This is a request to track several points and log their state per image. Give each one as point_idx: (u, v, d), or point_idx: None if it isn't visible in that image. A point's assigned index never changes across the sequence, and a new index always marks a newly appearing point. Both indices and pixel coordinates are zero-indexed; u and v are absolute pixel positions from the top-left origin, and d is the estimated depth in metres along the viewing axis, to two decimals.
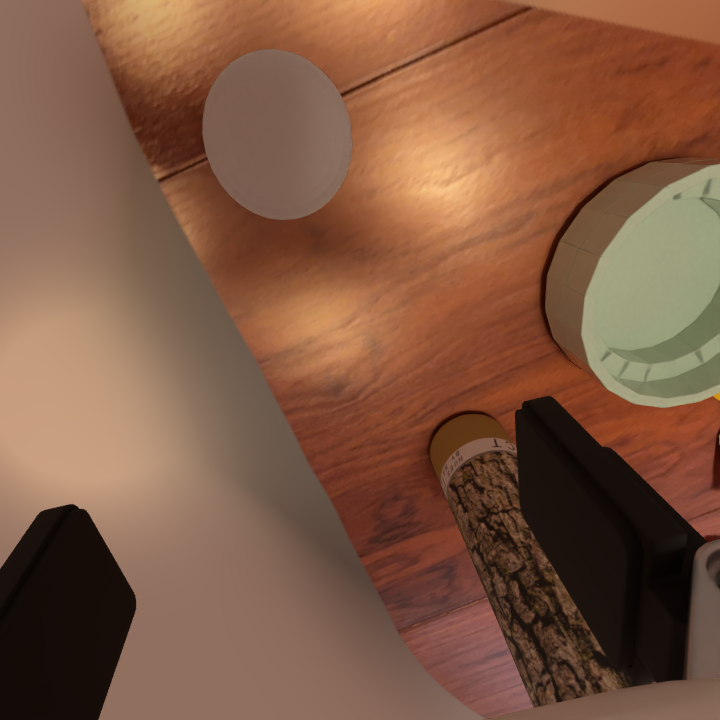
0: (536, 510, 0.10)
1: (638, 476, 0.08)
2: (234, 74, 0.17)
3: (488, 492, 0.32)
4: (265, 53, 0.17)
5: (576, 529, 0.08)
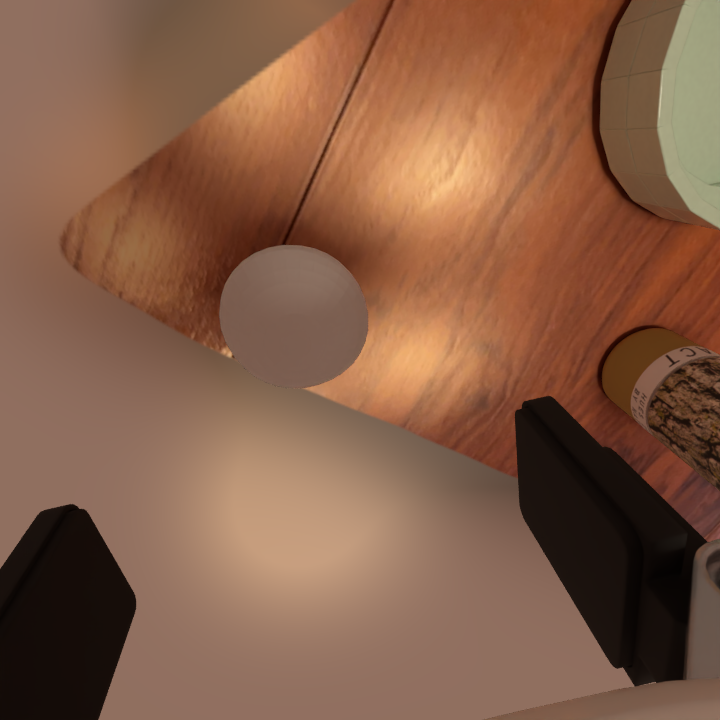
0: (536, 510, 0.10)
1: (638, 476, 0.08)
2: (229, 315, 0.18)
3: (696, 422, 0.28)
4: (237, 277, 0.18)
5: (576, 529, 0.08)
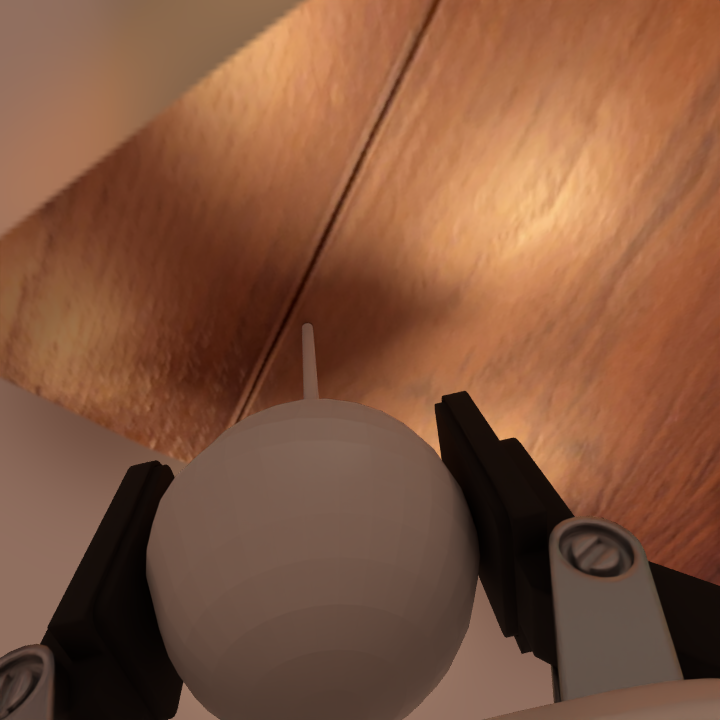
0: None
1: (533, 464, 0.09)
2: (162, 608, 0.07)
3: None
4: (183, 511, 0.07)
5: (473, 512, 0.09)
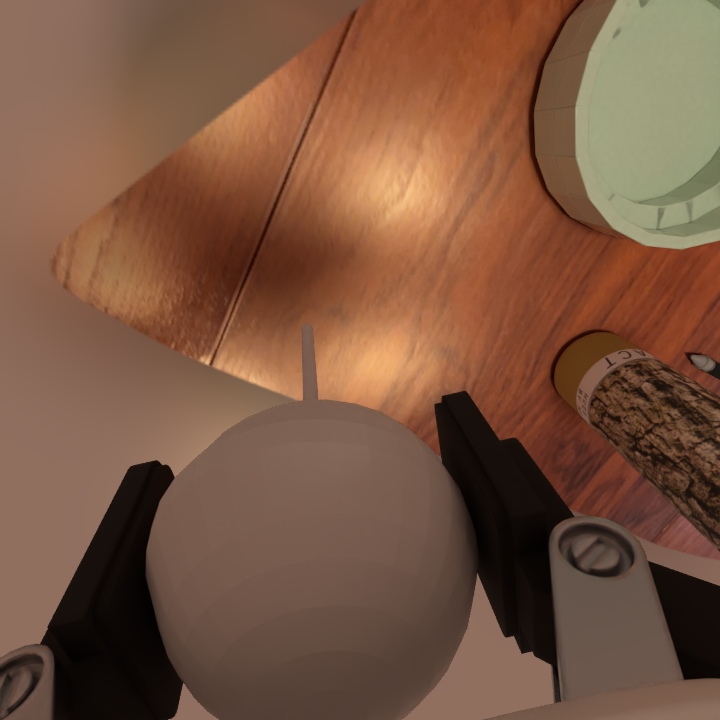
0: None
1: (533, 464, 0.09)
2: (162, 608, 0.07)
3: (625, 419, 0.31)
4: (183, 512, 0.07)
5: (473, 512, 0.09)
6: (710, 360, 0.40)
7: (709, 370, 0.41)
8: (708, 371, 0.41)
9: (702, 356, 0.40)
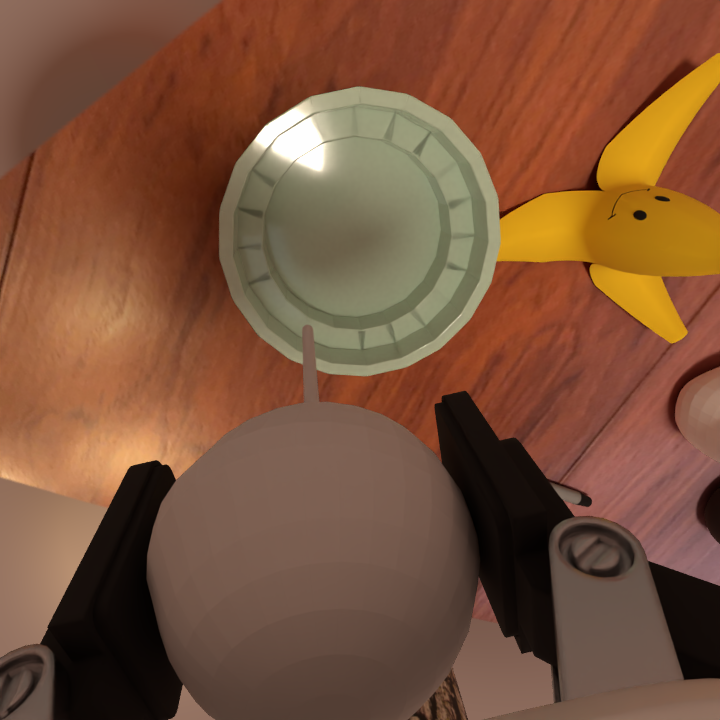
0: None
1: (534, 464, 0.09)
2: (162, 612, 0.07)
3: None
4: (184, 515, 0.07)
5: (474, 512, 0.09)
6: None
7: None
8: None
9: None
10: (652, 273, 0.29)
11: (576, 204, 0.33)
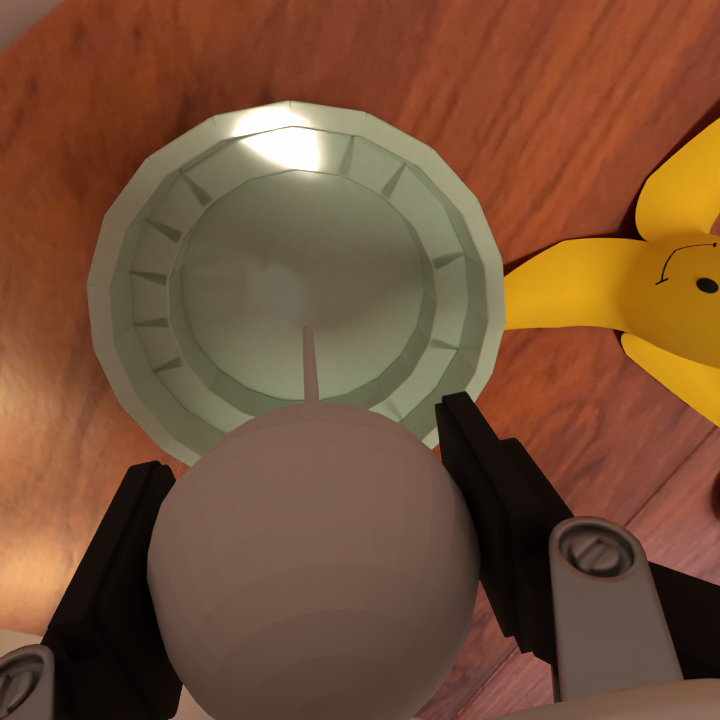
0: None
1: (534, 464, 0.09)
2: (164, 612, 0.07)
3: None
4: (184, 515, 0.07)
5: (474, 512, 0.09)
6: None
7: None
8: None
9: None
10: None
11: (608, 257, 0.24)
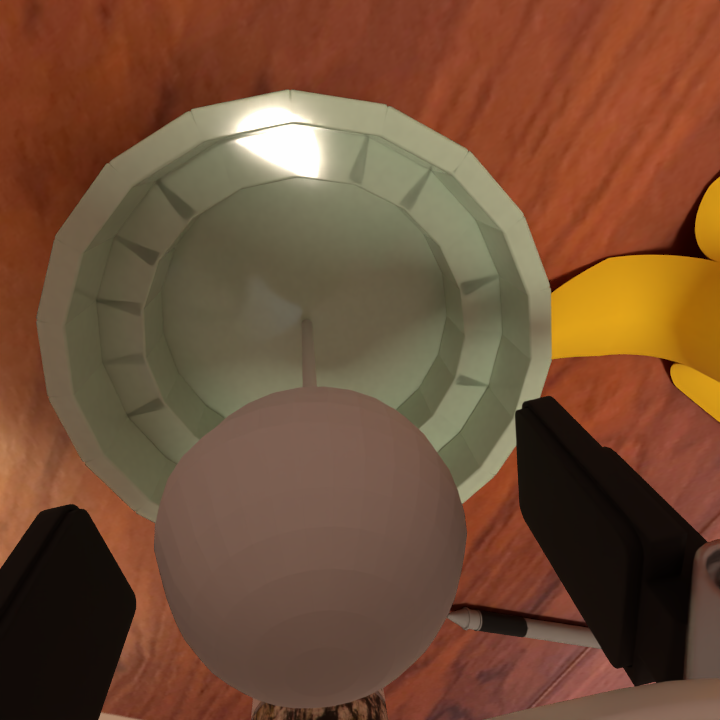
0: (536, 510, 0.10)
1: (638, 476, 0.08)
2: (170, 576, 0.08)
3: None
4: (189, 487, 0.08)
5: (576, 529, 0.08)
6: (474, 619, 0.30)
7: (477, 630, 0.30)
8: None
9: (463, 614, 0.30)
10: None
11: (663, 277, 0.21)
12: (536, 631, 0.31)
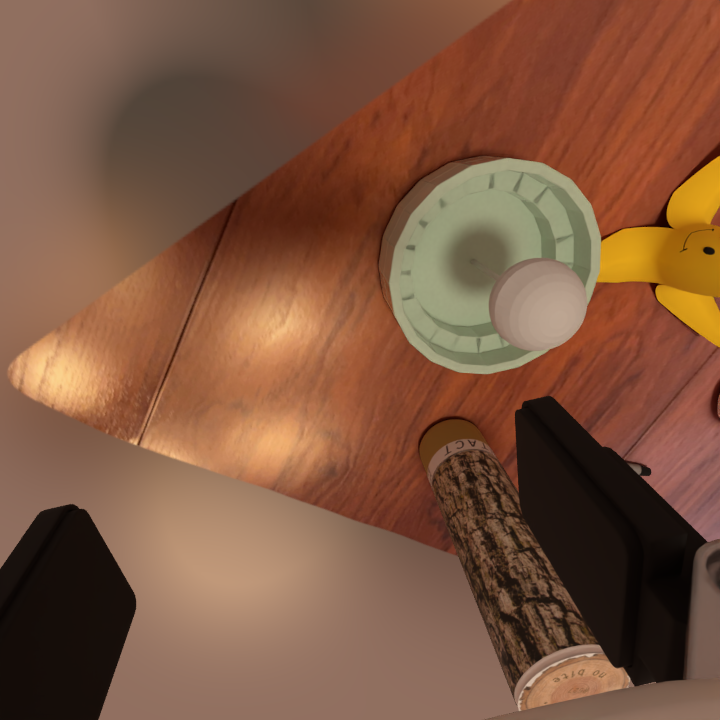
0: (536, 510, 0.10)
1: (638, 476, 0.08)
2: (510, 302, 0.29)
3: (445, 501, 0.41)
4: (515, 278, 0.29)
5: (576, 529, 0.08)
6: None
7: None
8: None
9: None
10: (717, 295, 0.37)
11: (650, 238, 0.41)
12: None
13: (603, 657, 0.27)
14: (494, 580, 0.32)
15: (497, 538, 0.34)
